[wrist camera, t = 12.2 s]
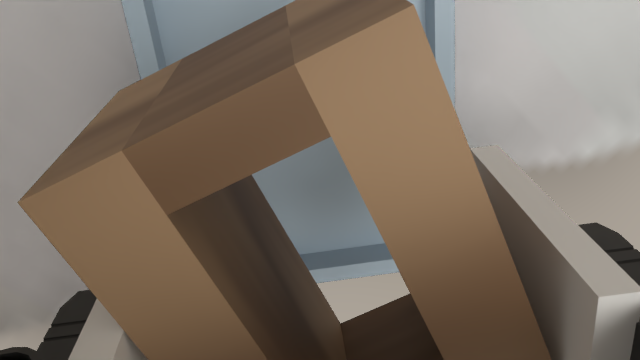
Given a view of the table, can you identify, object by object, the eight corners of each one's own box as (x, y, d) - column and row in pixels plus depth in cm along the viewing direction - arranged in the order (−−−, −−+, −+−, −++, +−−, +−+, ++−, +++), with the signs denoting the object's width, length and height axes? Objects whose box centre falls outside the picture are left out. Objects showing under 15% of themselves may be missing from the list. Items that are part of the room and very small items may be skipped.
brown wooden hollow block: (118, 90, 14) (17, 202, 8) (354, -31, 13) (414, 4, 7) (328, 406, 19) (352, 605, 13) (508, 333, 18) (610, 511, 12)
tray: (199, 275, 29) (195, 299, 27) (108, -109, 21) (93, -112, 19) (443, 243, 29) (454, 264, 27) (439, -146, 22) (454, -152, 20)
